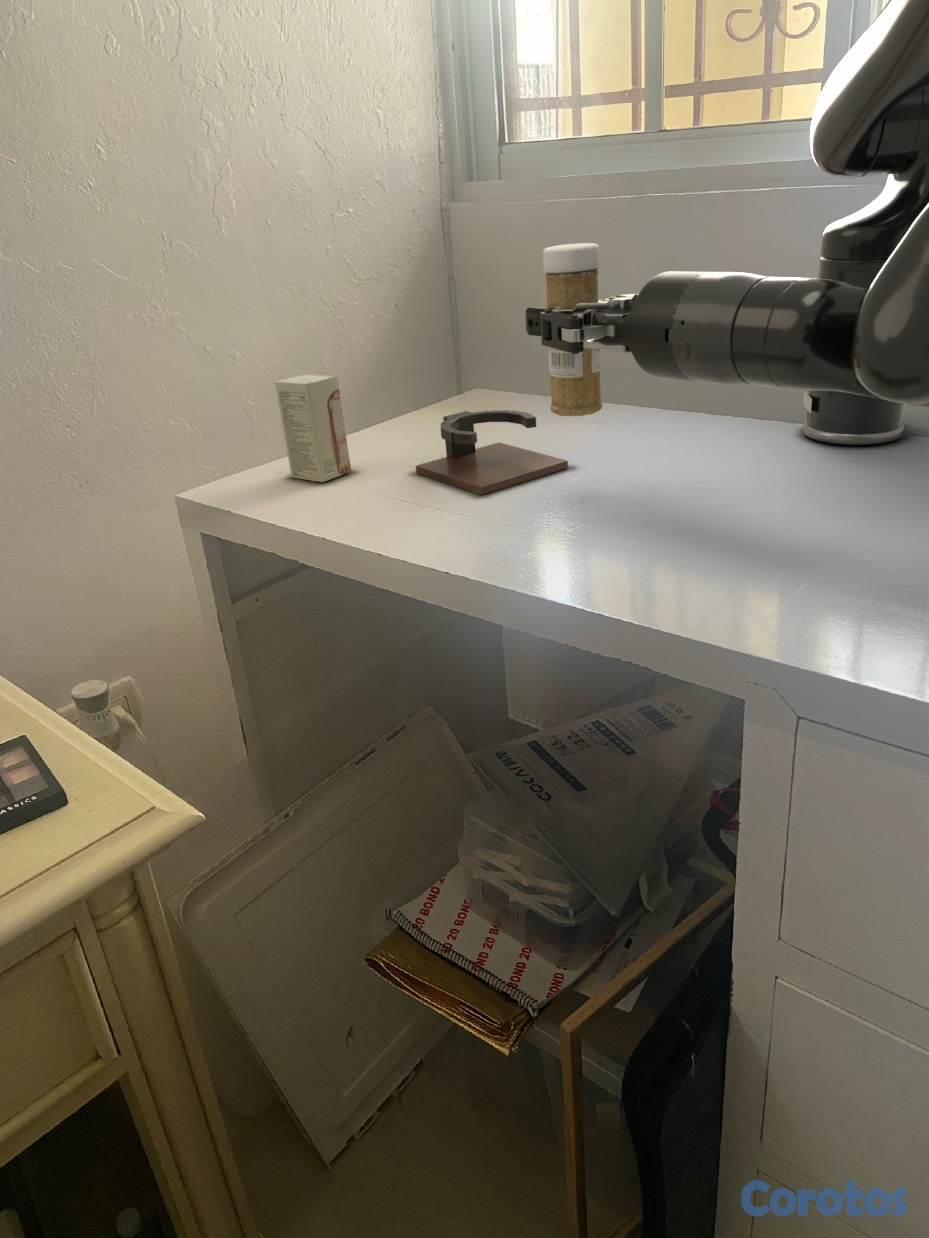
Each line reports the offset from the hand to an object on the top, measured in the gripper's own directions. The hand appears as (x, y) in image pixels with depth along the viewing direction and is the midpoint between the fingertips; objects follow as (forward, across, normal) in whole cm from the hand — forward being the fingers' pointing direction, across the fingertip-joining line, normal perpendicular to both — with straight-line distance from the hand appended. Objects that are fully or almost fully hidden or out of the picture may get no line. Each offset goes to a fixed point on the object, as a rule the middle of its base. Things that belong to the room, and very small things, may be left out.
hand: (551, 316), depth 77 cm
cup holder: (+10, 0, +16) cm, 19 cm away
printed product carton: (+23, +12, +16) cm, 31 cm away
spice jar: (-3, 0, +8) cm, 8 cm away
